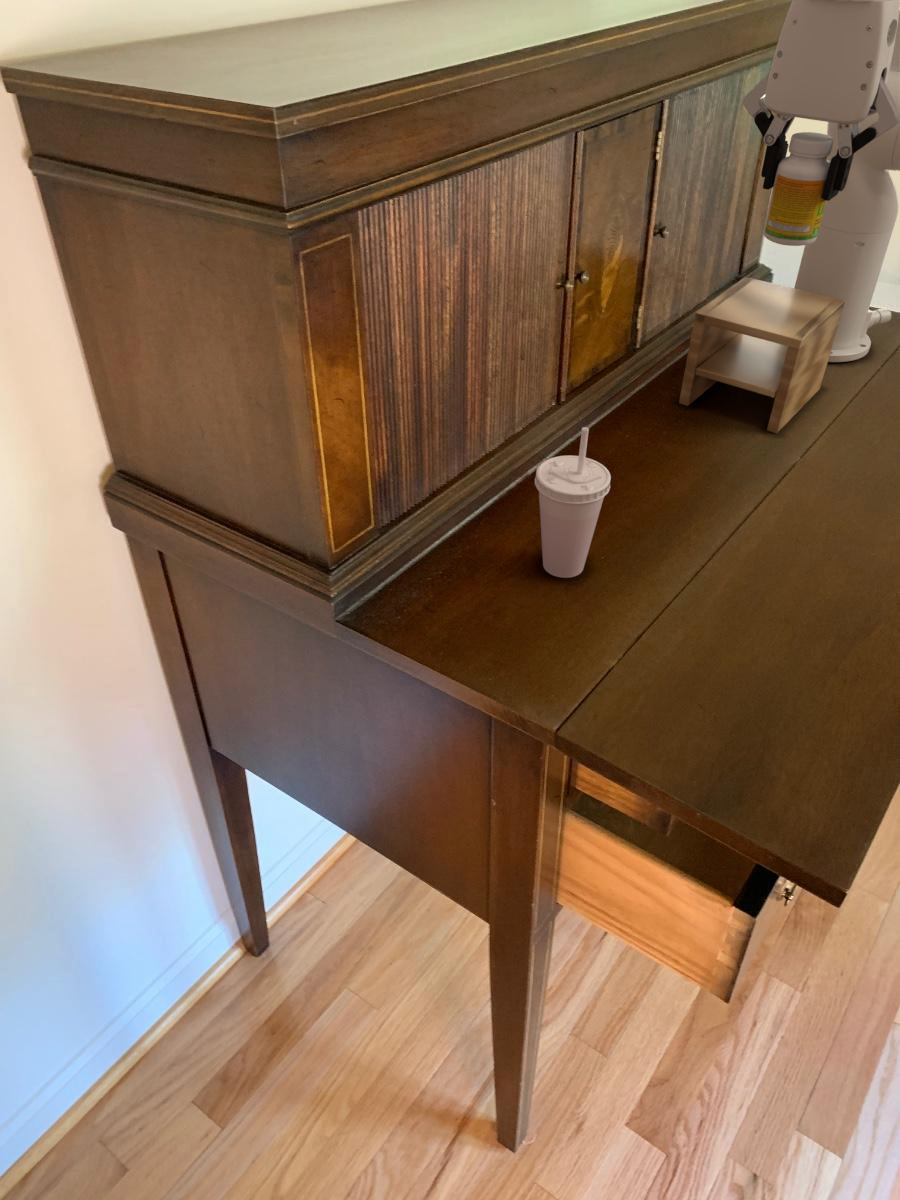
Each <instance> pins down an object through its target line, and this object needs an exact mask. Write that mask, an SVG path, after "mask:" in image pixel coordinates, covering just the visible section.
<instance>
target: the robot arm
mask: <svg viewBox="0 0 900 1200" xmlns="http://www.w3.org/2000/svg"><path fill="white" fill-rule="evenodd" d="M742 105H743V107H744V108H745V109H746V111H747V112H748V114H749V115H750V117H751V118H753V120H754V121H753V122H754V124H755V125H756V127H757V129H758V130H759V133H760V134H761V136H762V137H763V143H764V145H765V146H766V149H765V153H764V159H763V164H762V169H761V172H760V173H761V174H760V175H761V178H763V184H762V189H763V190H770V189H773V185H774V180H775V176H776V171H777V168H778V165H779V163H780V161H781V160H782V159H784V158H786V157H787V154H788V151H789V143H788V140H787V133H788V131H789V130H790V128H791V126H792V124H793V122H794V120H795V118H800V119H805V120H806V119H807V120H812V121H819V122H827V124H826V126H827V127H826V135H829V136H831V137H832V138H833V139H834V141H833V146H832V150H831V154H830V155H829V156H827V160H829V161H830V166H829V170H828V174H827V178H826V182H825V186H824V190H823V194H822V198H823V200H826V203H825V207H824V211H823V215H822V219H821V223H820V227H819V231H818V235H817V238H816V240H815V241H814V242H813V243H811V244H808V245H804V248H803V251H802V256H801V260H800V263H799V268H798V272H797V276H796V279H795V283H794V287H793V288H795V289H799V290H803V291H807V292H812V293H816V294H820V295H824V296H829V297H833V298H837V299H841V300H845V304H844V307H843V311H842V314H841V318H840V321H839V324H838V328H837V331H836V335H835V338H834V342H833V345H832V349H831V352H830V356H829V359H828V362H827V363H846V362H852V361H853V362H854V361H856V360H859V359H861V358H864V357H865V356H866V355H868V353H869V351H870V348H871V345H872V341H871V338H870V336H869V335H868V334H867V332H868V329H871V328H872V327H873V326H877V325H882V324H886V323H889V322H890V321H891V319H892V312H891V310H890V309H889V308H887V307H883V308H880V309H879V308H878V309H874V310H870V305H871V302H872V299H873V296H874V293H875V290H876V286H877V283H878V280H879V277H880V273H881V270H882V267H883V263H884V261H885V258H886V253H887V251H888V247H889V245H890V240H891V237H892V234H893V230H894V228H895V224H896V222H897V218H898V214H899V196H898V192H897V189H896V184H895V183H894V180H893V177H892V175H891V172H890V171H895V172H896V171H898V172H900V0H791V3H790V6H789V9H788V10H787V14H786V16H785V20H784V22H783V25H782V28H781V32H780V35H779V37H778V41H777V44H776V48H775V51H774V55H773V59H772V62H771V67H770V70H769V72H768V73H767V74H766V75H765V76H764V77H763V78H762V79H761V80H760V81H759V82H758V83H757V84H756V85H755V86H754V87H753V88H752V89H750V91H749V92H748V93H747V94H746V95H745V96H744V97H743V98H742ZM773 113H774V114H775V115H774V114H773Z"/></svg>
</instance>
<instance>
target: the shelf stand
mask: <svg viewBox="0 0 900 1200" xmlns="http://www.w3.org/2000/svg"><path fill="white" fill-rule="evenodd" d="M844 304H845V300H841V299H837V298H833V297H829V296H824V295H820V294H816V293H812V292H807V291H803V290H799V289H795V288H794V287H791V286H786V285H782V284H778V283H773V282H769V281H766V280H765V281H764V280H761V279H756V278H752V277H747V276H745V277H744V278H742V279H741V280H740V281H738V282H737V283H734V285H732V286H730V288H728V289H726V290H725V291H723V293H721V294H720V295H718V296H717V297H715V298H714V299H713V300H711V301H710V302H709V303H707V304H705V305H704V306H703V307H702V308H700V309H698V310H697V311H695V313H694V314H695V315H694V319H693V325H692V330H691V335H690V342H689V346H688V352H687V356H686V362H685V368H684V374H683V378H682V385H681V390H680V395H679V400H678V404H681V405H683V406H687V407H689V406H690V405H691V404H692V403H693V402H695V401H696V400H697V399H698V398H700V396H701V395H703V394H705V392H706V391H708V389H710V388H711V387H712V386H713V385H714V384H716V383H717V382H719V383H723V384H726V385H730V386H732V387H736V388H740V389H743V390H746V391H749V392H752V393H753V392H754V393H757V394H759V395H763V396H767V397H769V398H773V399H774V401H773V405H772V409H771V412H770V416H769V420H768V424H767V428H766V431H767V432H770V433H773V434H779V432H781V430H782V429H783V428H784V427H785V426H786V425H787V424H788V423H789V422H790V420H791V419H792V418H794V416H796V414H797V413H798V412H799V411H800V410H801V409H802V408H803V407H804V406H805V405H806V404H807V403H808V402H809V401H810V400H811V398H813V397H814V396H815V395H816V393H818V392H819V391H820V390H821V387H822V383H823V379H824V376H825V373H826V370H827V366H828V363H829V362H828V359H829V356H830V352H831V349H832V345H833V342H834V338H835V335H836V331H837V328H838V324H839V321H840V318H841V314H842V311H843V307H844Z"/></svg>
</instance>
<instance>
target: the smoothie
mask: <svg viewBox="0 0 900 1200" xmlns="http://www.w3.org/2000/svg"><path fill="white" fill-rule="evenodd" d="M589 431H590V428H589V427H587V426H583V427H581V434H580V442H579V450H578V451H579V452H578V455H570V454H569V455H559V456H554V457H550V458H548V459H546V460H543V462H541V463H540V464H539V465H538V467H537V468H536V470H535V477H534V486H535V487H536V489H537V491H538V500H539V501H538V502H539V514H540V515H539V519H540V534H541V535H540V536H541V537H540V539H541V553H542V554H541V555H542V567H543V569H544V570H545V571H546V572H547V573H548V574H549V575H551V576H552V577H553V576H554V577H558V578H562V579H563V578H564V579H568V578H569V579H571V578H574V577H577V576H579V575H581V574H582V572H583V571H584V569H585V564H586V562H587V557H588V555H589V552H590V551H589V550H590V548H591V543H592V540H593V537H594V534H595V530H596V527H597V523H598V520H599V516H600V512H601V509H602V507H603V506H602V505H603V501H604V499H605V496H607V495H608V494H609V492H610V489H611V479H612V476H611V473H610V471H609V469H607V467H606V466H605V465H604V464H602V463H600V462H599V461H597V460H594V459H592V458H589V457H587V447H588V440H589V439H588V438H589Z"/></svg>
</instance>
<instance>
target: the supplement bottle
mask: <svg viewBox="0 0 900 1200" xmlns="http://www.w3.org/2000/svg"><path fill="white" fill-rule="evenodd" d="M833 141H834V139H833V138H832V137H831V136H829V135H827V133H821V132H812V131H802V132H796V133H793V134H792V135H791V137H790V141H789V144H788V152H789V156H786V158H784V159H782V160H781V161H780V163H779V165H778V168H777V171H776V176H775V180H774V185H773V187H772V190H771V194H770V199H769V204H768V209H767V212H766V218H765V223H764V228H763V236H764V238H766V239H767V240H768V241H769V242H772V243H774V244H777V245H780V246H788V247H789V246H790V247H800V246H801V247H802V246H805V245H808V244H811V243H813V242H814V241H815V240H816V238H817V235H818V231H819V227H820V223H821V219H822V215H823V211H824V207H825V203H826V200H823V198H822V194H823V190H824V186H825V182H826V178H827V174H828V170H829V166H830V161H829V160H827V156H829V155H830V154H831V150H832V146H833Z"/></svg>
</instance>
